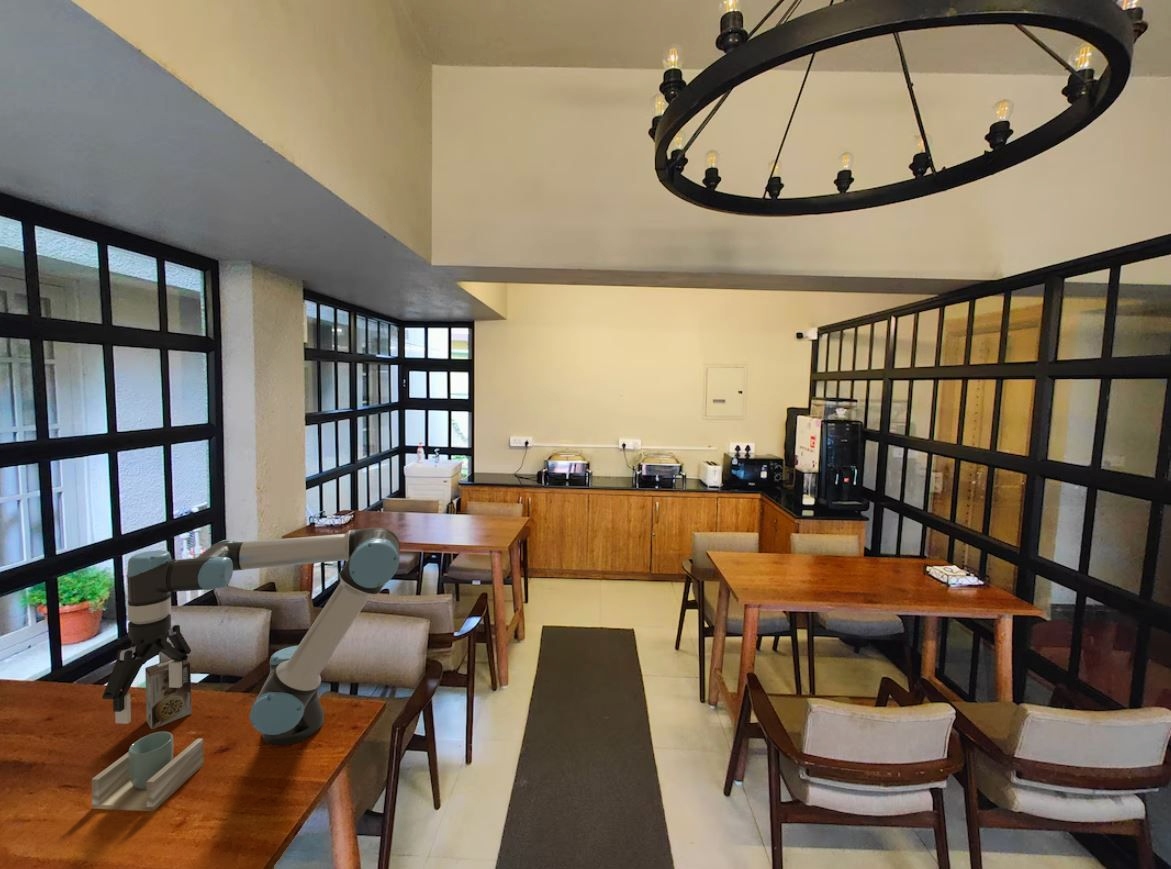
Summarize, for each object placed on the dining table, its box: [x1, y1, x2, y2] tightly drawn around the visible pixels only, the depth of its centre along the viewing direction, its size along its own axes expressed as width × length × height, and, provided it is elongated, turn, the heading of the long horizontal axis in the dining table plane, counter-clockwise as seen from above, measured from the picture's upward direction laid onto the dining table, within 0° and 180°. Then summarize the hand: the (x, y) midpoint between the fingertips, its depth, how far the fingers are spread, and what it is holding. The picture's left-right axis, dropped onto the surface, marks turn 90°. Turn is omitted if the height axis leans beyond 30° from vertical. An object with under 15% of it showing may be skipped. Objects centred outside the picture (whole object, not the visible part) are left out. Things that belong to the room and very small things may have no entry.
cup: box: [128, 731, 174, 789], centre depth 114 cm, size 8×8×10 cm
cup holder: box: [91, 737, 204, 812], centre depth 114 cm, size 14×14×7 cm
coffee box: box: [144, 658, 193, 730], centre depth 138 cm, size 9×6×16 cm
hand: (150, 703), depth 113 cm, fingers open, 13 cm apart
